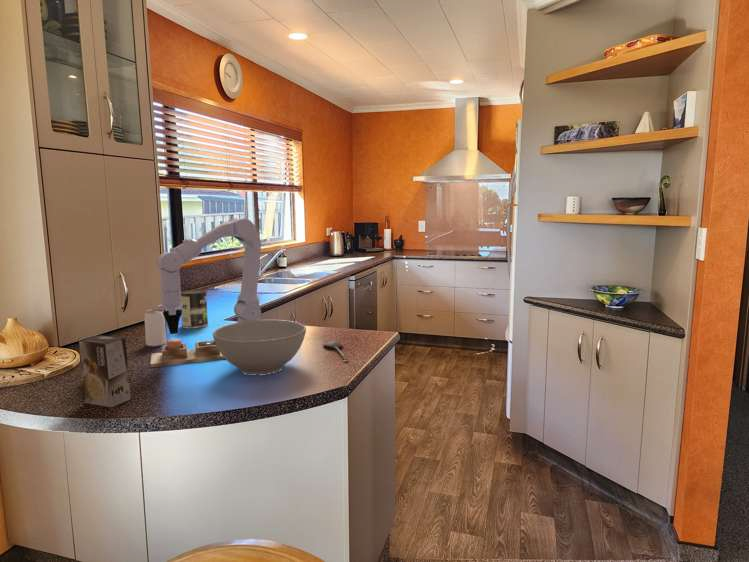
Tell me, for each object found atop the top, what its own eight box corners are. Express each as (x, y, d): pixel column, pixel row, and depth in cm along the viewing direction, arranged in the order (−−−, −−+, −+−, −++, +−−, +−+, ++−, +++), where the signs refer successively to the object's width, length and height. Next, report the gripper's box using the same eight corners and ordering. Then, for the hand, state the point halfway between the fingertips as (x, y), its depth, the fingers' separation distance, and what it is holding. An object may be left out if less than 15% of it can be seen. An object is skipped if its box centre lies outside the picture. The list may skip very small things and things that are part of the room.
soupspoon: (340, 346, 182) (321, 349, 180) (339, 337, 182) (321, 339, 180) (355, 362, 161) (335, 365, 159) (354, 351, 161) (334, 354, 159)
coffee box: (132, 399, 131) (127, 337, 129) (111, 408, 125) (105, 343, 123) (105, 394, 134) (99, 334, 132) (83, 403, 129) (77, 340, 126)
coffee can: (211, 322, 216) (209, 289, 214) (203, 328, 206) (201, 293, 204) (187, 322, 216) (185, 289, 214) (177, 328, 206) (175, 293, 204)
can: (159, 347, 179) (156, 313, 178) (142, 346, 181) (139, 312, 179) (170, 342, 186) (167, 309, 184) (153, 341, 187) (151, 308, 185)
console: (228, 348, 177) (227, 337, 176) (232, 358, 166) (231, 345, 165) (151, 356, 168) (151, 344, 168) (150, 367, 157) (149, 354, 156)
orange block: (181, 347, 167) (181, 338, 167) (182, 351, 163) (181, 341, 163) (167, 349, 166) (166, 339, 165) (167, 352, 162) (166, 343, 161)
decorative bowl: (210, 362, 161) (208, 324, 160) (294, 352, 172) (293, 316, 170) (221, 390, 137) (218, 345, 135) (318, 376, 147) (317, 334, 146)
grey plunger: (214, 349, 171) (213, 340, 171) (215, 353, 167) (214, 344, 167) (200, 351, 170) (199, 342, 169) (201, 354, 166) (200, 345, 165)
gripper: (157, 288, 167) (160, 329, 169) (156, 295, 154) (159, 339, 156) (181, 286, 170) (183, 327, 172) (182, 293, 156) (184, 337, 158)
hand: (173, 333), depth 164 cm, fingers closed
